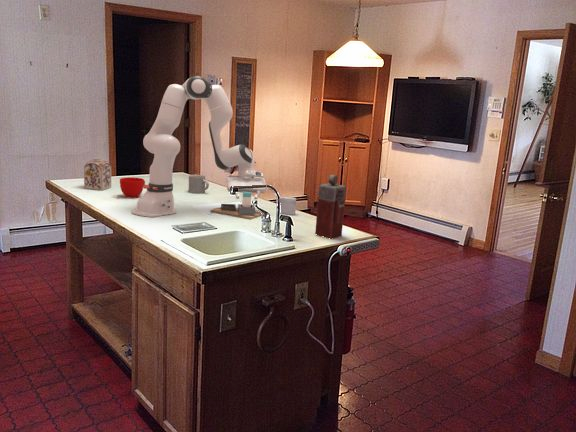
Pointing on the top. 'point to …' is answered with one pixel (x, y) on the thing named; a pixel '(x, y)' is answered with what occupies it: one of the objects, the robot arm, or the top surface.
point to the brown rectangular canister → (330, 209)
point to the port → (246, 210)
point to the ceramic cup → (132, 186)
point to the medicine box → (288, 205)
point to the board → (235, 213)
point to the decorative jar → (97, 175)
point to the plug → (246, 199)
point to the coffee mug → (197, 184)
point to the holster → (228, 207)
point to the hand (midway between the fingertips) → (246, 198)
